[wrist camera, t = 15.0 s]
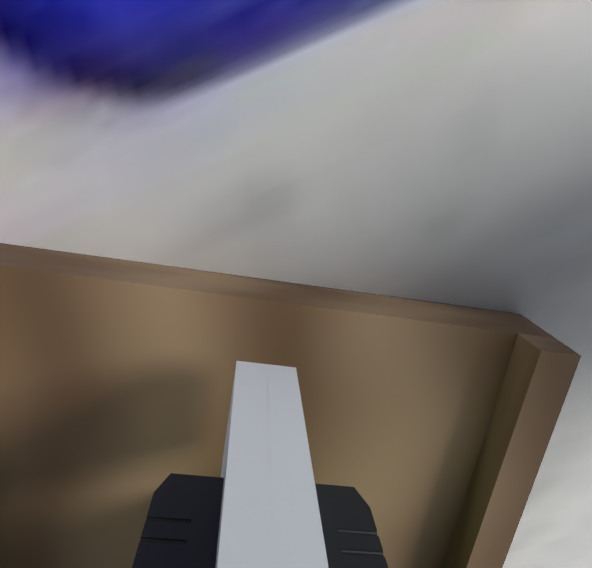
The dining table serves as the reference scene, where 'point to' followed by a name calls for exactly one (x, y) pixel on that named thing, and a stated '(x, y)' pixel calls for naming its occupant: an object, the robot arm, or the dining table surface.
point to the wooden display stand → (217, 397)
